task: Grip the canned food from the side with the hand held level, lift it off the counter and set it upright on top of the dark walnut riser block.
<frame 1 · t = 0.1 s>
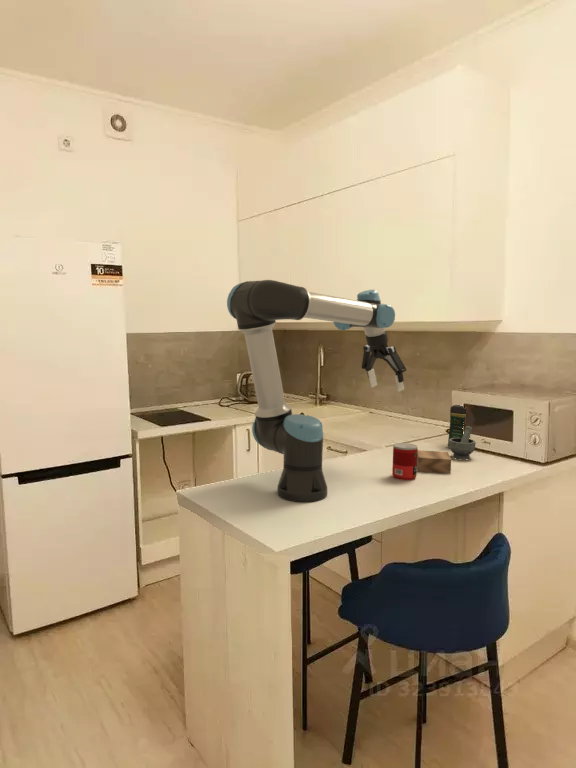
hand: (387, 388, 199), 28 cm above the counter, tool tilted 20°, fingers open, 13 cm apart
riser: (432, 468, 194), on the counter
canned food: (404, 477, 183), on the counter
mortar and pestle: (462, 458, 210), on the counter
coffee jar: (459, 448, 226), on the counter
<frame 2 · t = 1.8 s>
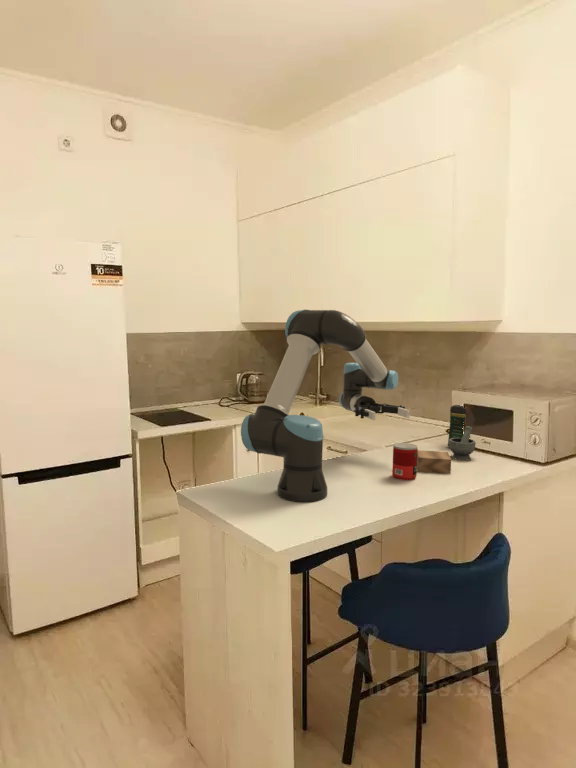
hand: (391, 415, 189), 20 cm above the counter, tool horizontal, fingers open, 13 cm apart
nothing on the counter moved.
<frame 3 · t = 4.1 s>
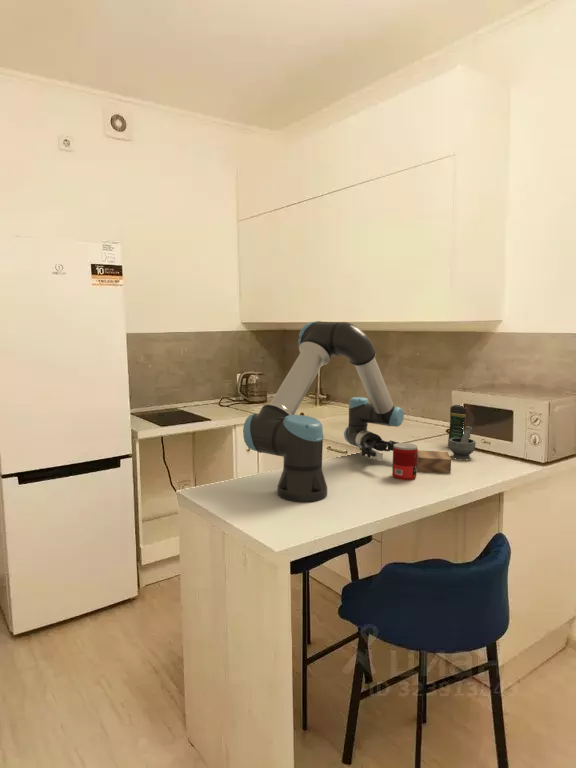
hand: (399, 455, 187), 6 cm above the counter, tool horizontal, fingers open, 13 cm apart
nothing on the counter moved.
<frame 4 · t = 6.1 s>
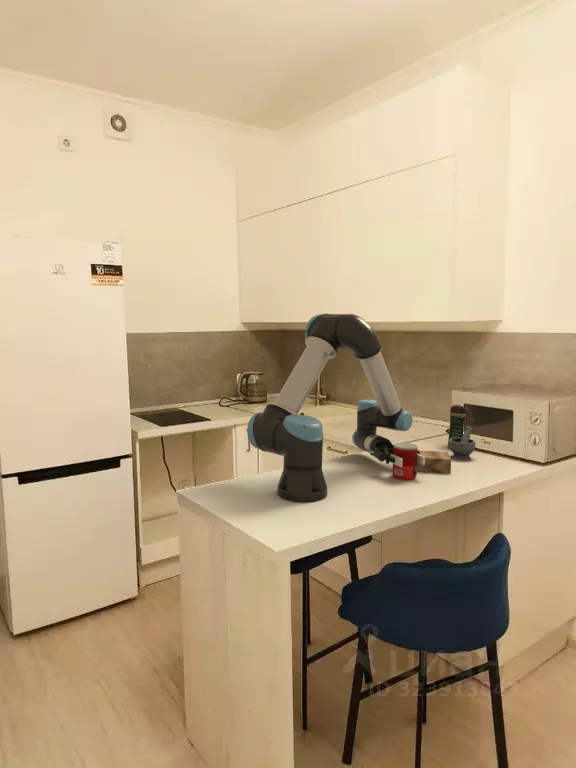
hand: (412, 461, 177), 7 cm above the counter, tool horizontal, fingers closed on canned food, 8 cm apart
canned food: (404, 477, 183), on the counter, touching gripper
everything else where it was.
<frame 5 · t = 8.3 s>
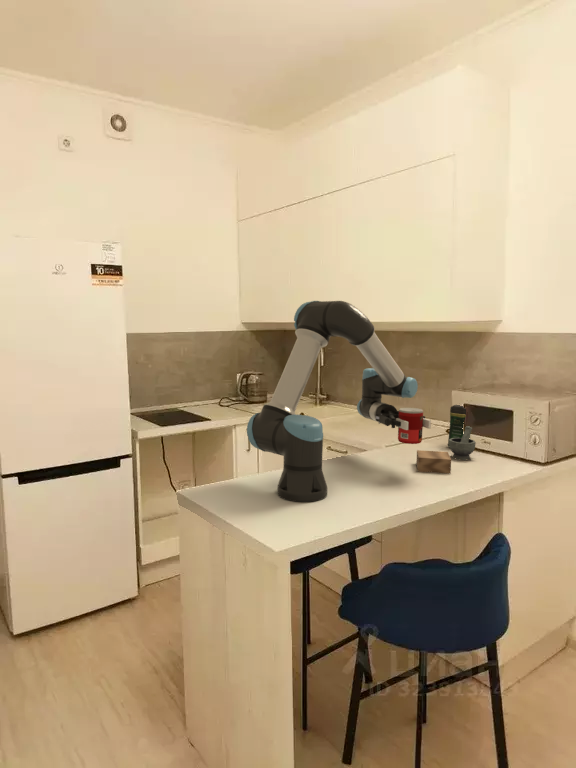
hand: (418, 425, 178), 18 cm above the counter, tool horizontal, fingers closed on canned food, 8 cm apart
canned food: (409, 442, 183), point 12 cm above the counter, touching gripper
everything else where it was.
when the fingers open (13 cm above the counter, at t = 10.7 s): canned food drops 1 cm, resting on riser.
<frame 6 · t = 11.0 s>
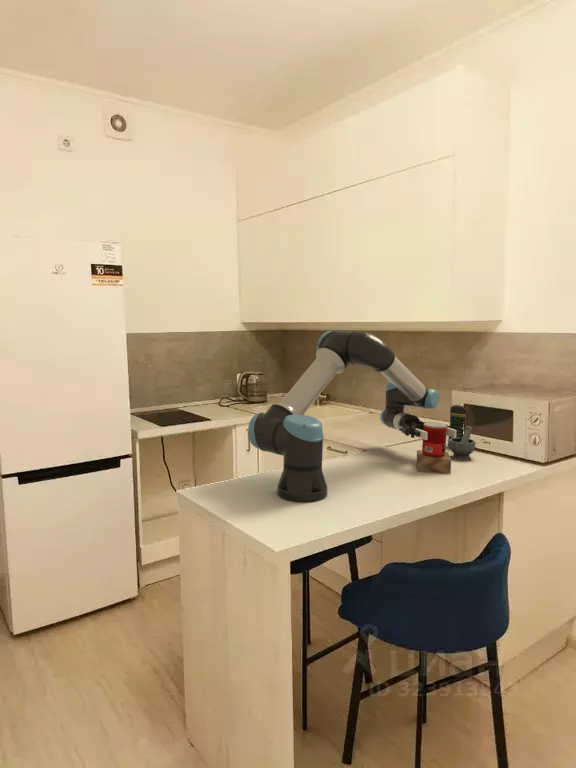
hand: (441, 435, 189), 13 cm above the counter, tool horizontal, fingers open, 11 cm apart
canned food: (433, 455, 193), point 5 cm above the counter, touching riser
everything else where it was.
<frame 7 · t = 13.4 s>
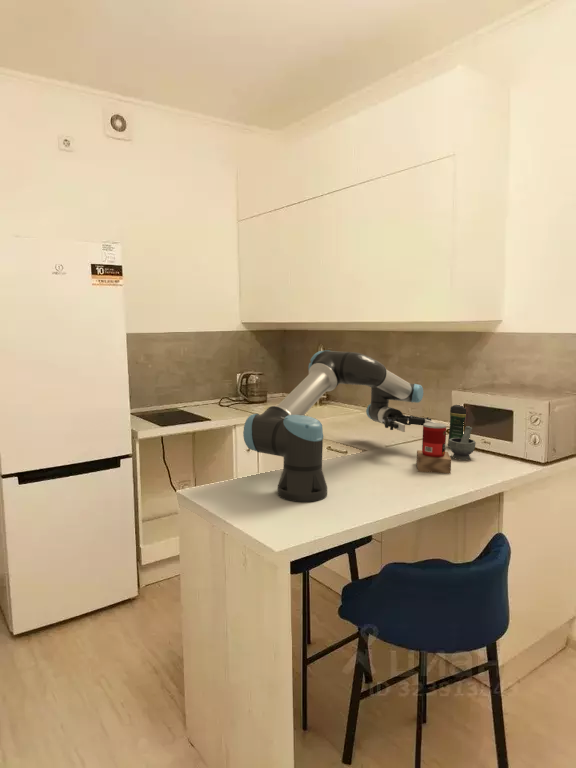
hand: (420, 427, 201), 13 cm above the counter, tool horizontal, fingers open, 13 cm apart
nothing on the counter moved.
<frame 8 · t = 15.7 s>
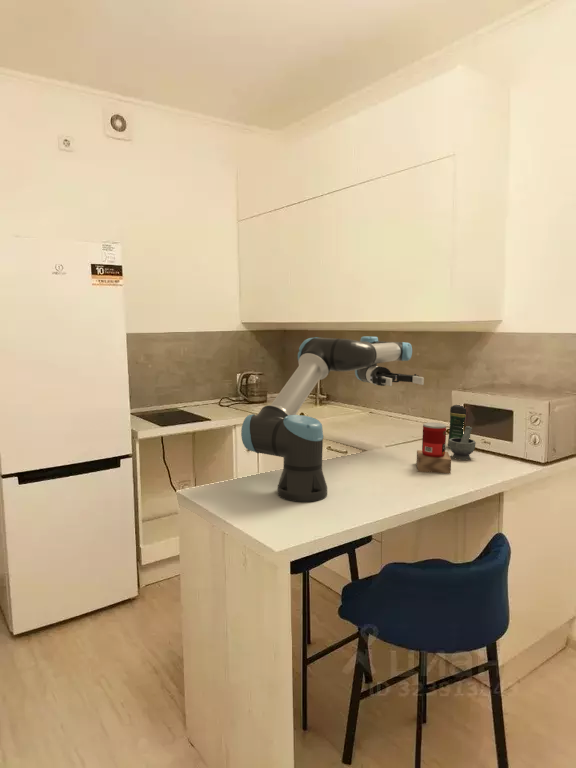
hand: (407, 381, 201), 30 cm above the counter, tool horizontal, fingers open, 13 cm apart
nothing on the counter moved.
at the end: canned food inside the target area on the riser (0.1 cm from its centre), point 4.8 cm above the riser's base; canned food tilted 0°; the gripper is holding nothing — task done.
